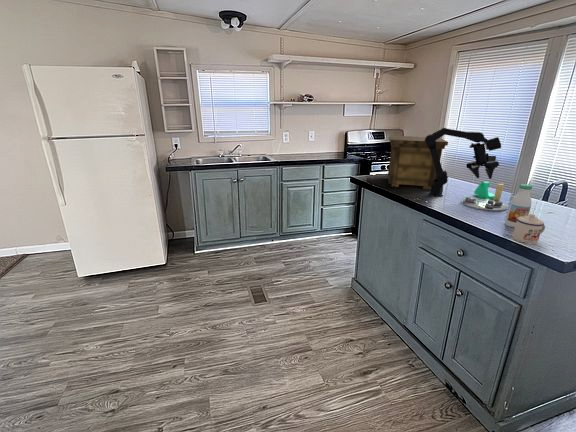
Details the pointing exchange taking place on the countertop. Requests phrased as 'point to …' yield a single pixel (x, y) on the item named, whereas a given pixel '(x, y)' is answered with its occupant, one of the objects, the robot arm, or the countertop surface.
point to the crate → (412, 161)
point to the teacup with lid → (528, 229)
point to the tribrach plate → (482, 204)
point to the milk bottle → (519, 205)
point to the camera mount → (484, 191)
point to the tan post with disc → (497, 196)
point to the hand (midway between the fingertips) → (484, 178)
